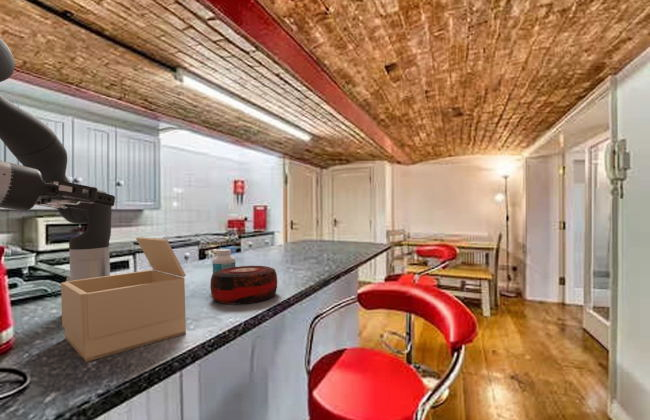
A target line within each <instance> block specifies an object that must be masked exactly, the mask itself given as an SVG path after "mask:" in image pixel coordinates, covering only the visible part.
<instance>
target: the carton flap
mask: <svg viewBox="0 0 650 420" xmlns="http://www.w3.org/2000/svg"><path fill="white" fill-rule="evenodd" d="M135 239H136V241H137V244H138V245H139V247H140V248H141V250H142V252H143V254H144V256H145V257H146V260H147V261H148V263H149V265H150V267H151V268H152V270H155V271H159V272H163V273H167V274H171V275H175V276H179V277H183V278H185V277H186V276H187V275H186V273H185V271H184V269H183V267H182V265H181V263H180V262H179V260H178V257H177V256H176V254H175V252H174V250H173V248H172V246H171V244H170V243H169V241H168V239H165V238H156V237H155V238H154V237H153V238H152V237H141V236H140V237H136V238H135Z"/></svg>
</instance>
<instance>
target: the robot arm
mask: <svg viewBox="0 0 650 420" xmlns="http://www.w3.org/2000/svg"><path fill="white" fill-rule="evenodd" d="M15 65H16V63H15V59H14V56H13V53H12V51H11V50H10V48H9V46H8V44H6V42H5V41H4V40H3V39H2V38H1V37H0V83H2V82H5V81H6V80H9V78H11V77H12V76H13V74H14V72H15V68H16V66H15ZM0 140H1V142H3V144H4V145H5V146H6V147H7V149H8V150H9V152H11V154H12V155H13V156H14V157H15V158H16V160H17V161H18V162H19V163H20V164H17V163H11V162H8V161H3V160H0V208H2V209H8V210H12V211H13V210H15V211H21V212H27V211H30V210H31V209H33V208H34V206H36V205H37V206H40V207H46V208H47V207H48V208H51V209H52V208H53V209H56V210H57V211H58V212H59V214H60V215H61V217H63V219H64V220H65V221H67V222H69V223H71V224H77V225H78V224H87V228H86V230H85V231H84V232H82V233H81V234H79V235H76V236H73V237H71V238H70V240H69V242H68V245H69V246H68V249H69V252H68V253H69V254H68V255H69V256H68V257H69V276H67V277H66V280H65V281H73V280H81V279H88V278H96V277H103V276H110V275H111V268H110V267H111V265H110V263H111V262H110V261H111V258H110V240H111V237H112V236H111V235H112V212H113V211H112V210H113V209H112V207H114V206H115V200H116V197H115V195H113V194H109V193H107V192H106V191H104V190H99V189H98V188H97V187H95V186H90V185H84V184H79V183H75V182H70V181H69V180H68V179H67V175H66V173H67V172H66V171H67V165H68V152H67V150H66V148H65V146H64V144H63V143H62V142H61V140H60V139H59V138H58V136H57V135H56V134H55V131H53V130H52V128H51V127H50V126H49V125H48V124H47V123H45V122H44V121H42V120H41V119H39V118H38V117H36V116H34V115H33V114H31V113H29V112H28V111H26V110H25V109H22V108H21V107H19V106H18V105H15V104H14V103H12V102H11V101H9V100H8V99H7V98H5V97H4V96H3V95H2V94H0Z"/></svg>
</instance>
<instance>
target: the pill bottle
mask: <svg viewBox="0 0 650 420" xmlns="http://www.w3.org/2000/svg"><path fill="white" fill-rule="evenodd" d="M231 254H232V249H229V248H228V249H227V248H226V249H225V248H223V249H217V250H216V256H215V257H214V258H213V259H212V274H213V273H214V272H216V271H218V270H221V269H225V268H231V267H237V266H236V258H235V257H234V256H233V255H231Z"/></svg>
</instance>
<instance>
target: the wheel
mask: <svg viewBox="0 0 650 420" xmlns="http://www.w3.org/2000/svg"><path fill="white" fill-rule="evenodd" d="M277 289H278V275H277V271H276V269H275V268H273V267H270V266H267V265H243V266H242V265H240V266H236V267H231V268H225V269H221V270H218V271H216V272H214V273H213V272H212V275H211V277H210V293H211V297H212V298H213V301H215V302H216V303H217V302H218V303H220V304H225V305H246V304H247V305H248V304H254V303H259V302H264V301H266V300H269V299H271V298H272V297H275V296H276V293H277Z"/></svg>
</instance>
